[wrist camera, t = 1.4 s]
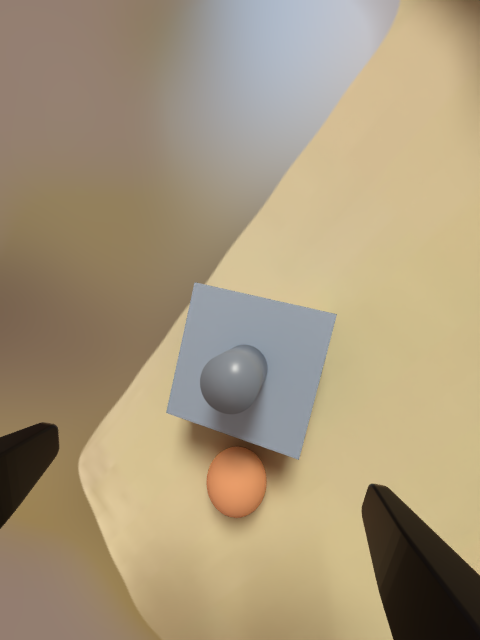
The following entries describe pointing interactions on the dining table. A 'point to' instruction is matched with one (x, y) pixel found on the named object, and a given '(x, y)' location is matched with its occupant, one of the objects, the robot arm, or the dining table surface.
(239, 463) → the ball
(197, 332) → the block with rounded knob
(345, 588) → the dining table surface
